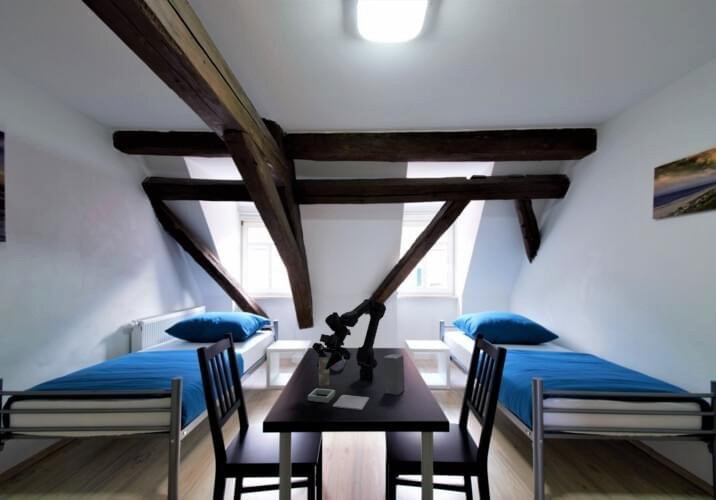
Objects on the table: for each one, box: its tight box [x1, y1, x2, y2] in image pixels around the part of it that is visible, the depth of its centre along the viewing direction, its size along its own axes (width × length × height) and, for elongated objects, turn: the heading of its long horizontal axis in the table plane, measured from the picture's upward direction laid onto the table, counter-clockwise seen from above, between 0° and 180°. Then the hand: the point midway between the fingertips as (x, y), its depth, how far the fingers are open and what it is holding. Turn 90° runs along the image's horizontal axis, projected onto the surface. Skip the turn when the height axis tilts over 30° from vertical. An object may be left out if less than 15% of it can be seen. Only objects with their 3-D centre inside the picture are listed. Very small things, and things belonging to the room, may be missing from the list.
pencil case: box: [330, 357, 347, 372], centre depth 191 cm, size 21×9×10 cm, turn 176°
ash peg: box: [318, 356, 330, 387], centre depth 144 cm, size 4×4×11 cm
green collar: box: [307, 388, 336, 404], centre depth 144 cm, size 9×9×2 cm
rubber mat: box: [332, 394, 370, 411], centre depth 138 cm, size 12×12×1 cm
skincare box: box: [383, 353, 406, 396], centre depth 151 cm, size 8×7×16 cm
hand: (321, 368), depth 143 cm, fingers closed on ash peg, 4 cm apart
